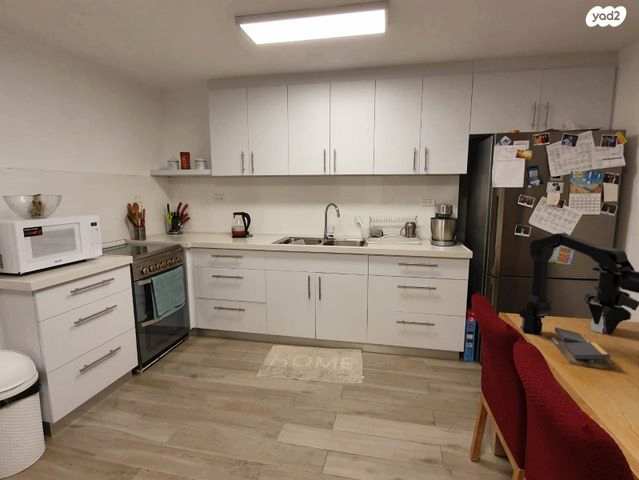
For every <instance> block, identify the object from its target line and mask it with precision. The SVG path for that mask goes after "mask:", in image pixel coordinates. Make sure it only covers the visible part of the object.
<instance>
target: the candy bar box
mask: <svg viewBox="0 0 639 480" xmlns="http://www.w3.org/2000/svg"><path fill="white" fill-rule="evenodd" d="M615 307H619V306H615ZM602 314H603V312H602ZM616 328H617V327H616ZM616 328H615V330H616ZM589 330H590V331H592V332H595V333H598V334H601V335H604V334H607V332H606V329H605V325H604V321H603V317H602V316H601V319H600V322H599V324H595V323H594V321H593V318H592V317H591V321H590V329H589Z"/></svg>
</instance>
